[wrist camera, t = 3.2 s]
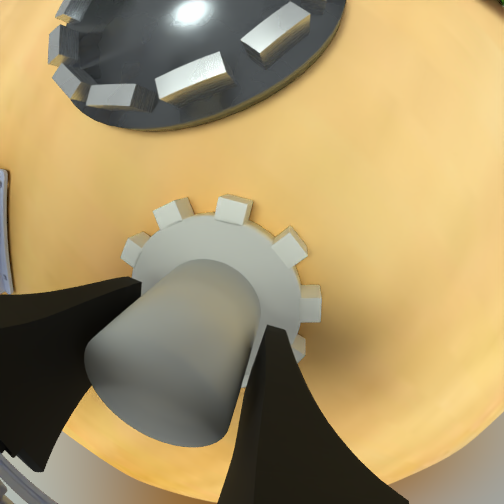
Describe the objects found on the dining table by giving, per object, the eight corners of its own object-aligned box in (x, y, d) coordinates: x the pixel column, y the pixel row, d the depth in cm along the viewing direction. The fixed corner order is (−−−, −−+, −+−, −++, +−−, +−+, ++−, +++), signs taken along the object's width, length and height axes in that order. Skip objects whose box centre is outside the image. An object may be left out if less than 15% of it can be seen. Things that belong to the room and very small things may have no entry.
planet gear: (281, 389, 12) (265, 497, 6) (131, 336, 13) (61, 411, 7) (347, 229, 10) (408, 307, 4) (145, 174, 10) (22, 189, 4)
